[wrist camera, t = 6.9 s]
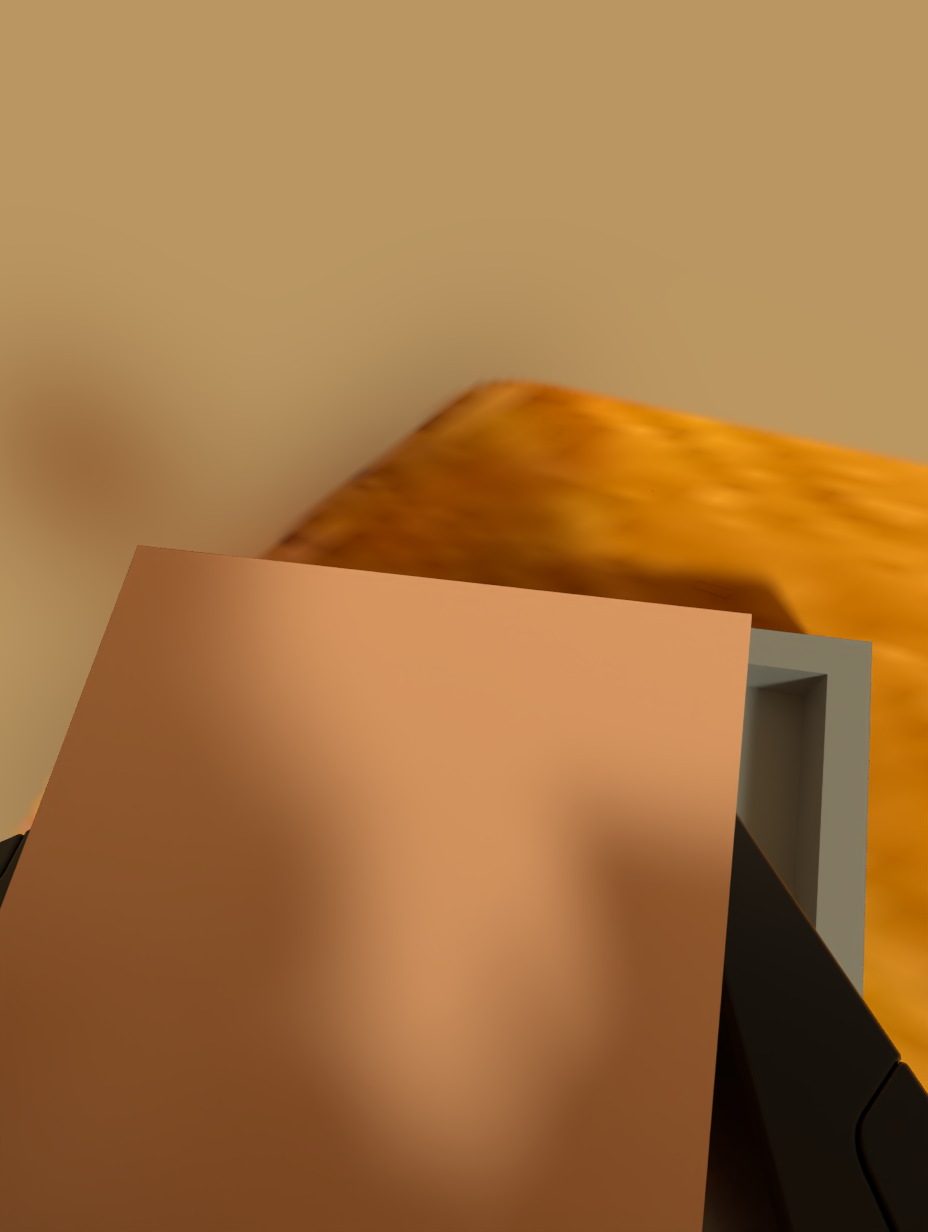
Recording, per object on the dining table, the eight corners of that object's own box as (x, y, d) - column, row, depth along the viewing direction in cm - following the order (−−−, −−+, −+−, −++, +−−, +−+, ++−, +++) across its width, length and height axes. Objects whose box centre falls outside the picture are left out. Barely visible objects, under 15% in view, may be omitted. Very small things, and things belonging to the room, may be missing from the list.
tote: (810, 1265, 15) (853, 1357, 12) (267, 1082, 18) (204, 1120, 16) (835, 675, 19) (872, 641, 16) (383, 616, 22) (349, 580, 19)
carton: (633, 1041, 13) (669, 1630, 3) (405, 978, 14) (-124, 1236, 4) (661, 794, 14) (753, 614, 4) (451, 755, 16) (137, 544, 6)
